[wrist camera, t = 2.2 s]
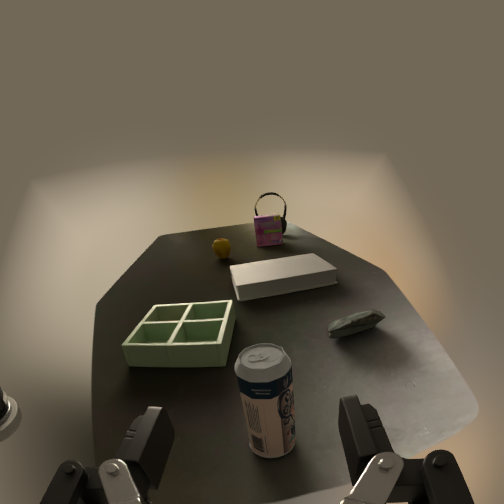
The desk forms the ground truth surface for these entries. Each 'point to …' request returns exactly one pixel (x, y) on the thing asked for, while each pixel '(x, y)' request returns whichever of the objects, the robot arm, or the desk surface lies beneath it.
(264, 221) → the box
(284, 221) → the headphones
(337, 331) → the stone
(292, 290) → the book
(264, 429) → the beer can
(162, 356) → the compartment tray
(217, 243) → the apple
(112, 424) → the desk surface
